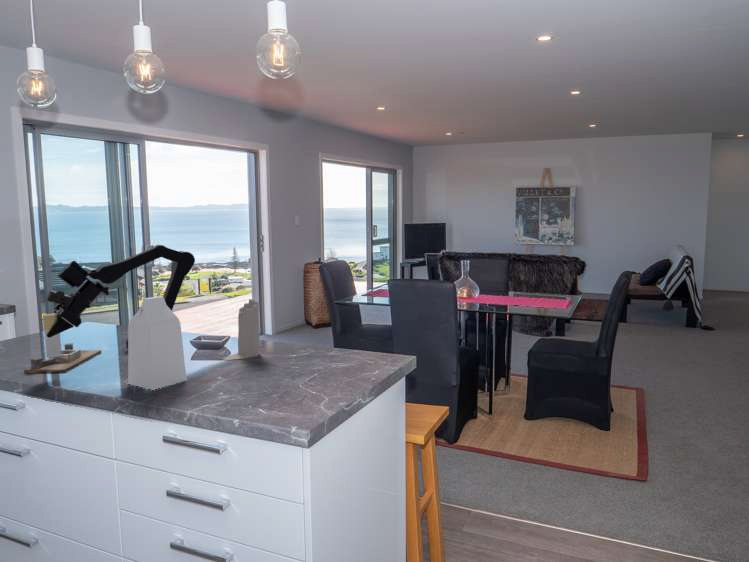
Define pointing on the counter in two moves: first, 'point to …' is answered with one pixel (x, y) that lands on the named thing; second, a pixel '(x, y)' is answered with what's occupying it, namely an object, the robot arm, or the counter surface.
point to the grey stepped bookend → (247, 332)
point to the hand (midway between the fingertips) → (47, 335)
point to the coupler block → (53, 342)
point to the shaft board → (61, 360)
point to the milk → (155, 346)
